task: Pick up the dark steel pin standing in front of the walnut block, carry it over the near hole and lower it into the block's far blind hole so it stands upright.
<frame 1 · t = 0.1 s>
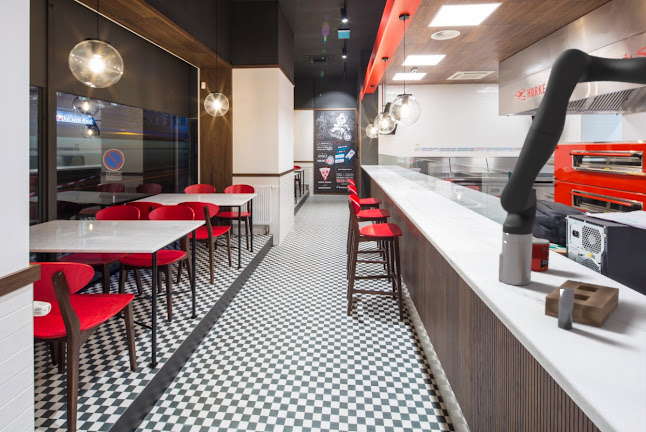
hole block: (582, 309, 118), on the table
canned food: (536, 269, 158), on the table
pin: (564, 327, 107), on the table
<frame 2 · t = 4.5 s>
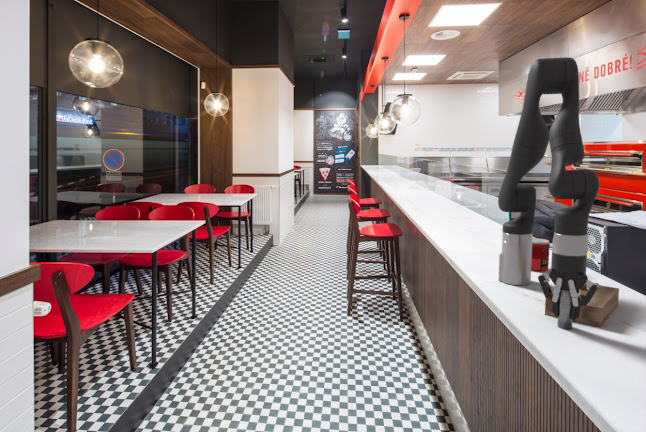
hand: (565, 317, 106), 3 cm above the table, tool pointing down, fingers closed on pin, 3 cm apart
pin: (564, 327, 107), on the table, touching gripper
everything else where it was.
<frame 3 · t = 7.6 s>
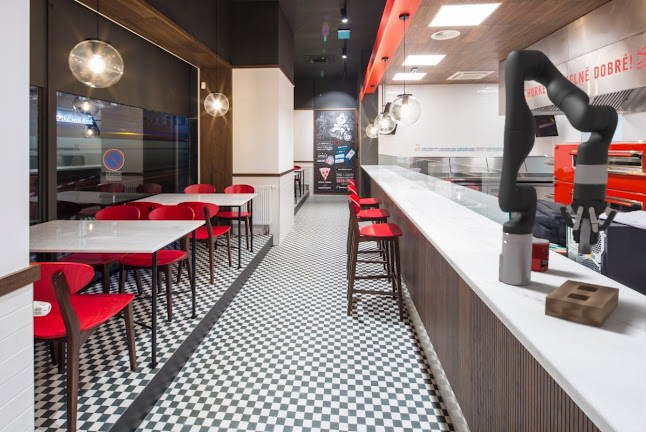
hand: (585, 243, 116), 19 cm above the table, tool pointing down, fingers closed on pin, 3 cm apart
pin: (584, 253, 116), point 16 cm above the table, touching gripper
everything else where it was.
when the fingers open (6 cm above the table, at t = 10.7 s): pin drops 2 cm, resting on hole block.
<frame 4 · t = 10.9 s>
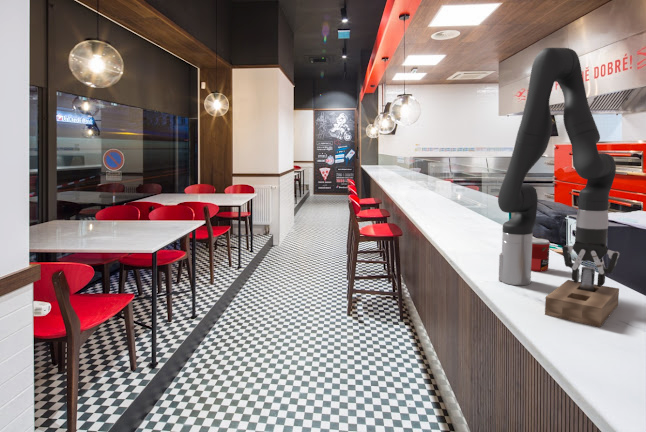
hand: (587, 283, 120), 6 cm above the table, tool pointing down, fingers open, 5 cm apart
pin: (585, 301, 121), point 1 cm above the table, touching hole block
everything else where it was.
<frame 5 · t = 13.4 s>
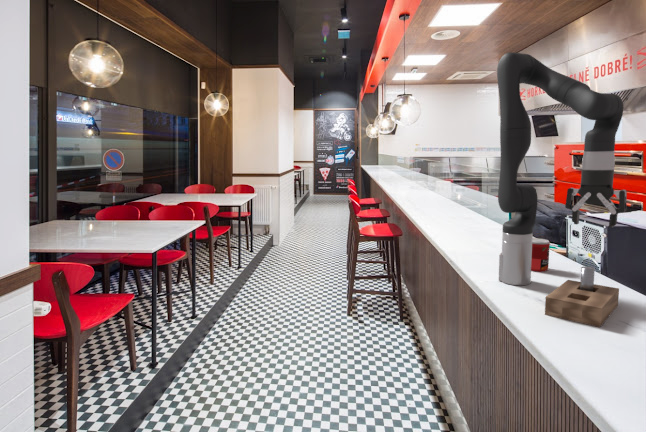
hand: (593, 225, 119), 23 cm above the table, tool pointing down, fingers open, 8 cm apart
nothing on the table moved.
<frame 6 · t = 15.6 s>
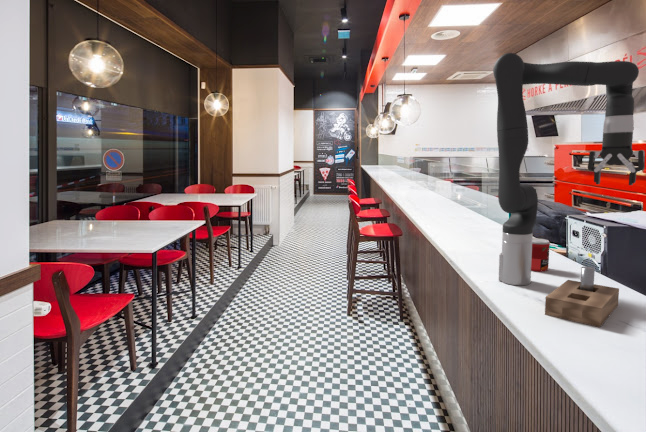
hand: (614, 184, 130), 33 cm above the table, tool pointing down, fingers open, 8 cm apart
nothing on the table moved.
at the end: pin 0.2 cm from the target spot on the hole block, point 1.0 cm above the hole block's base; pin tilted 0°; the gripper is holding nothing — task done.
